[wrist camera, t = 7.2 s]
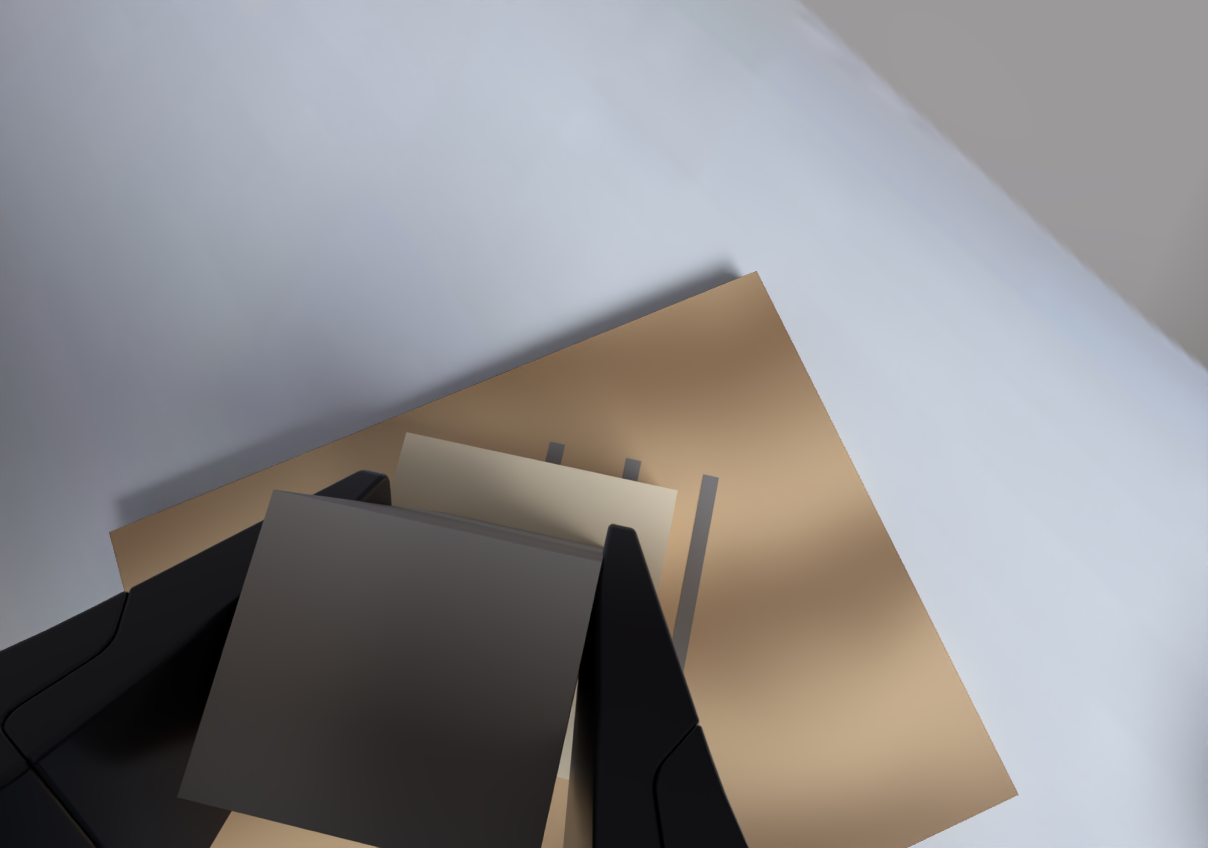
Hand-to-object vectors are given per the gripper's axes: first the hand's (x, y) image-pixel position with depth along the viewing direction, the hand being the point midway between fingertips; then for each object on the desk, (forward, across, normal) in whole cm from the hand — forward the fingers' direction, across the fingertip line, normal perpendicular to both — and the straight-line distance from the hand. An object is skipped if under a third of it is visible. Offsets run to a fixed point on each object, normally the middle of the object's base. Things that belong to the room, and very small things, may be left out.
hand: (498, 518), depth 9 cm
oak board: (+2, -1, +7) cm, 7 cm away
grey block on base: (+3, 0, +5) cm, 6 cm away
